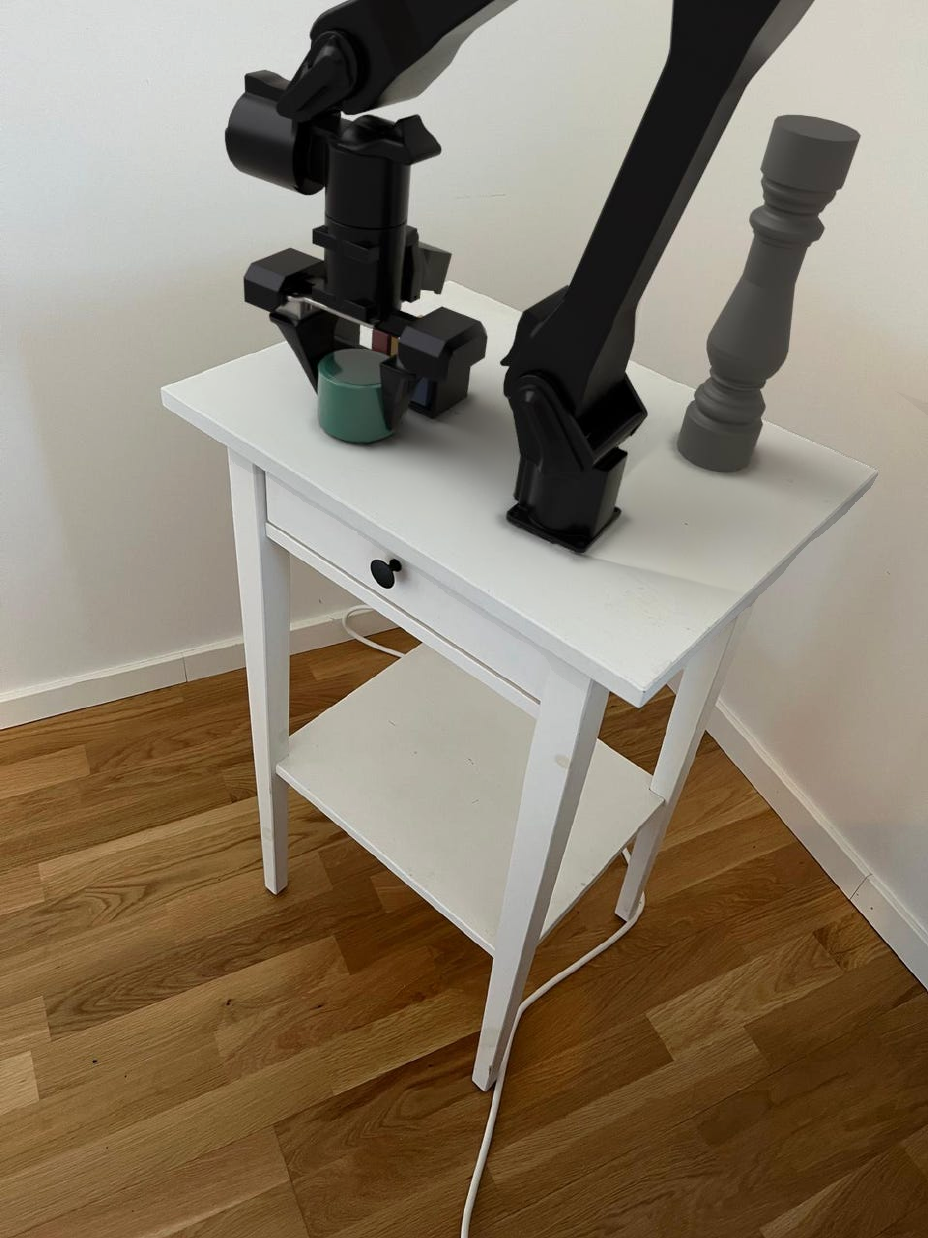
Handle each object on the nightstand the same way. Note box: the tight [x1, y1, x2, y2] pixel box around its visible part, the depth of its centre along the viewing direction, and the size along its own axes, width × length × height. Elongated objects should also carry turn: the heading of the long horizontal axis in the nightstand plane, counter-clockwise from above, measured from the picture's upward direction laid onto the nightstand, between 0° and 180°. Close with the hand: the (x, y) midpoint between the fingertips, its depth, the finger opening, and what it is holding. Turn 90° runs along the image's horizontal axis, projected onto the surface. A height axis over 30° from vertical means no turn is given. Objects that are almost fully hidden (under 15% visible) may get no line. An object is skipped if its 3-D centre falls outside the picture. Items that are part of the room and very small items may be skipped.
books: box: [370, 314, 434, 406], centre depth 81 cm, size 6×4×5 cm
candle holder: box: [676, 114, 862, 473], centre depth 73 cm, size 6×6×25 cm
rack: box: [334, 316, 472, 420], centre depth 82 cm, size 12×5×6 cm, turn 57°
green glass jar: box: [317, 349, 397, 444], centre depth 77 cm, size 6×6×5 cm
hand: (358, 413), depth 78 cm, fingers closed on green glass jar, 6 cm apart
